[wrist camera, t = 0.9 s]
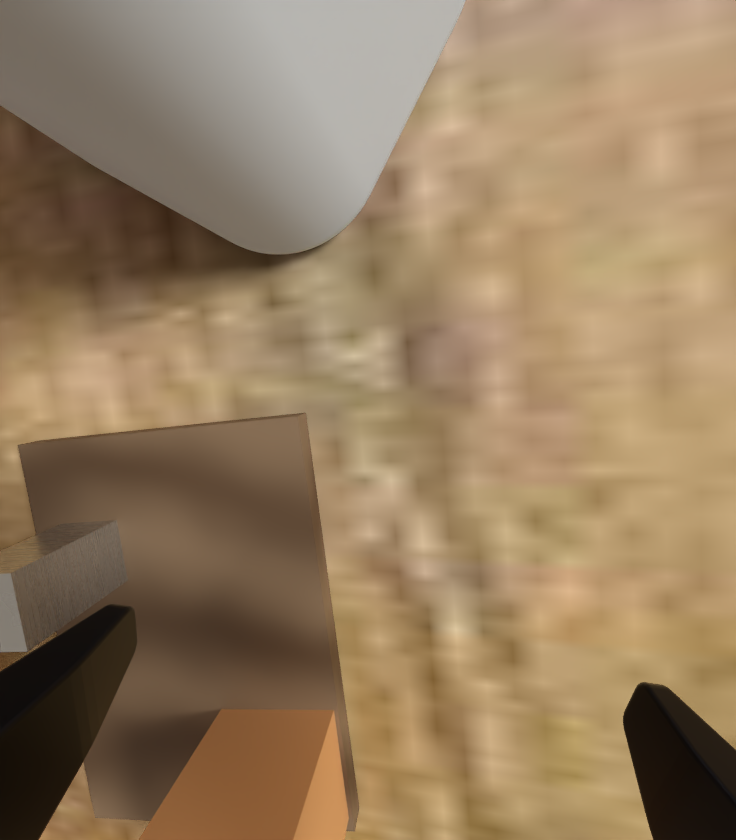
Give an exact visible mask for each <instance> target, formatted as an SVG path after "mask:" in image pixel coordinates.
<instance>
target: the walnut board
mask: <svg viewBox="0 0 736 840" xmlns="http://www.w3.org/2000/svg"><path fill="white" fill-rule="evenodd" d="M18 448H19V453H20V458H21V463H22V468H23V472H24V477H25V482H26V487H27V492H28V496H29V501H30V506H31V511H32V516H33V521H34V525H35V530H36V535H37V534H39V533H42V532H44V531H46V530H48V529H51V528H53V527H55V526H57V525H60V524H66V523H80V522H95V521H109V520H117V524H118V530H119V535H120V541H121V546H122V551H123V557H124V562H125V567H126V573H127V578H128V581H126V582H125V583H123V584H122V585H121V586H119V587H118V588H116V589H115V590H114V591H112V592H111V593H109V594H108V595H107V596H105V597H104V598H102V599H101V600H100V601H98V602H97V603H95V604H94V605H92V606H91V607H90V608H88V609H87V610H85V611H84V612H83V613H81V614H80V615H78V616H77V617H76V618H74V619H73V620H71V621H70V622H69V623H67V624H66V625H64V626H63V627H61V628H60V629H59V630H57V636H58V635H59V634H61V633H63V632H64V631H66V630H67V629H69V628H71V627H72V626H74V625H75V624H77V623H79V622H80V621H82V620H83V619H85V618H87V617H88V616H90V615H91V614H93V613H95V612H96V611H98V610H99V609H101V608H103V607H104V606H106V605H109V604H120V605H127V606H131V607H133V609H134V610H135V617H136V630H137V646H136V650H135V653H134V655H133V658H132V660H131V662H130V664H129V666H128V669H127V671H126V673H125V675H124V677H123V680H122V682H121V684H120V686H119V688H118V691H117V693H116V695H115V697H114V699H113V702H112V704H111V706H110V708H109V710H108V713H107V715H106V717H105V719H104V721H103V724H102V726H101V728H100V730H99V732H98V734H97V736H96V739H95V741H94V743H93V745H92V747H91V748H90V750H89V752H88V754H87V756H86V758H85V759H84V766H85V771H86V776H87V780H88V785H89V790H90V795H91V800H92V804H93V809H94V814H95V818H110V819H129V820H148V821H151V819H152V818H153V816H154V815H155V813H156V812H157V810H158V808H159V807H160V805H161V804H162V802H163V800H164V799H165V797H166V796H167V794H168V793H169V791H170V789H171V788H172V786H173V785H174V783H175V782H176V780H177V778H178V777H179V775H180V774H181V772H182V770H183V769H184V767H185V766H186V764H187V763H188V761H189V759H190V758H191V756H192V755H193V753H194V751H195V750H196V748H197V747H198V745H199V744H200V742H201V740H202V739H203V737H204V736H205V734H206V733H207V731H208V729H209V728H210V726H211V725H212V723H213V721H214V720H215V718H216V717H217V715H218V714H219V712H220V710H221V709H260V710H334V714H335V722H336V729H337V736H338V743H339V751H340V758H341V765H342V772H343V779H344V787H345V794H346V801H347V808H348V815H349V820H348V825H347V830H346V831H355V828H356V822H357V817H358V812H359V802H358V795H357V788H356V780H355V773H354V765H353V758H352V751H351V743H350V736H349V729H348V721H347V714H346V706H345V699H344V692H343V684H342V677H341V669H340V662H339V655H338V647H337V640H336V632H335V625H334V618H333V610H332V603H331V596H330V588H329V581H328V573H327V566H326V559H325V551H324V544H323V536H322V529H321V522H320V514H319V507H318V499H317V492H316V485H315V477H314V470H313V463H312V455H311V448H310V440H309V433H308V426H307V418H306V413H299V414H290V415H280V416H271V417H261V418H251V419H242V420H232V421H223V422H213V423H204V424H194V425H185V426H175V427H165V428H156V429H146V430H137V431H127V432H118V433H108V434H98V435H89V436H79V437H70V438H60V439H51V440H41V441H35V442H31V443H26V444H21V445H18Z"/></svg>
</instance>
